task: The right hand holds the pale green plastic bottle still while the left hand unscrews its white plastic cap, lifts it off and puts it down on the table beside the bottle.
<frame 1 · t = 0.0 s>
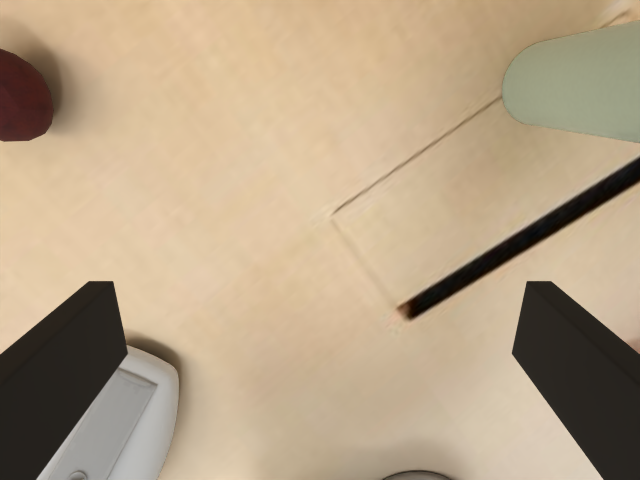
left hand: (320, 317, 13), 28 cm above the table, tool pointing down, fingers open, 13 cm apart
bottle: (541, 84, 36), on the table
dark red ball: (31, 96, 37), on the table
projector: (118, 410, 50), on the table
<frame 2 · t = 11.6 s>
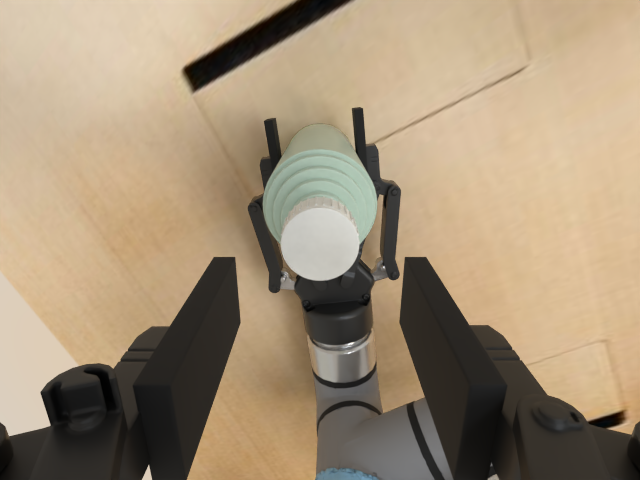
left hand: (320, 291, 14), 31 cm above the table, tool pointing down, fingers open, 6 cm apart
right hand: (313, 114, 36), fingers closed on bottle, 7 cm apart
cap: (320, 243, 19), point 26 cm above the table, screwed on, not yet turned
bottle: (320, 157, 43), on the table, touching right hand
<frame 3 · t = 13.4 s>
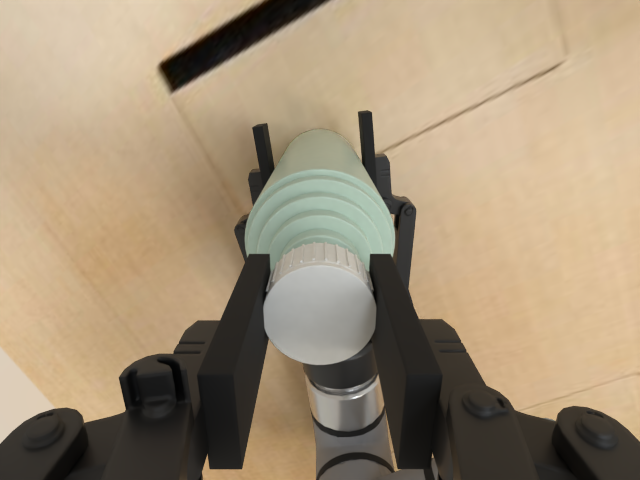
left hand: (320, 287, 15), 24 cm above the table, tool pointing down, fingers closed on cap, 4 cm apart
right hand: (312, 119, 30), fingers closed on bottle, 7 cm apart
cap: (319, 313, 13), point 26 cm above the table, screwed on, not yet turned, touching left hand
bottle: (319, 168, 37), on the table, touching right hand
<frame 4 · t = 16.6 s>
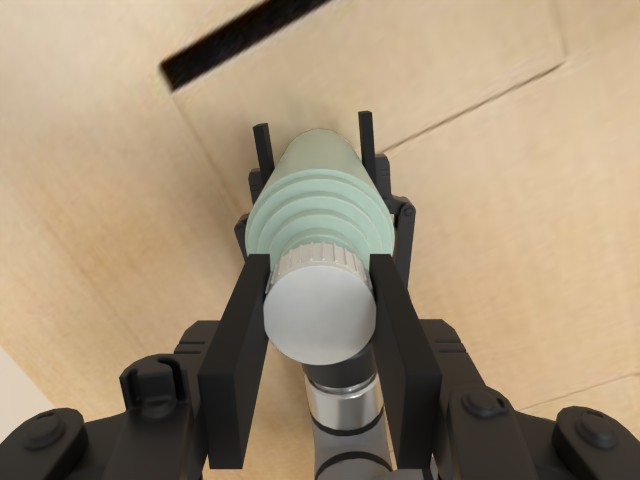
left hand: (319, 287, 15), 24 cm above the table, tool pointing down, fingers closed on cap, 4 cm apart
right hand: (312, 119, 30), fingers closed on bottle, 7 cm apart
cap: (319, 313, 13), point 26 cm above the table, turned 99° so far, risen 0.1 cm, still on its thread, touching left hand
bottle: (319, 168, 37), on the table, touching right hand
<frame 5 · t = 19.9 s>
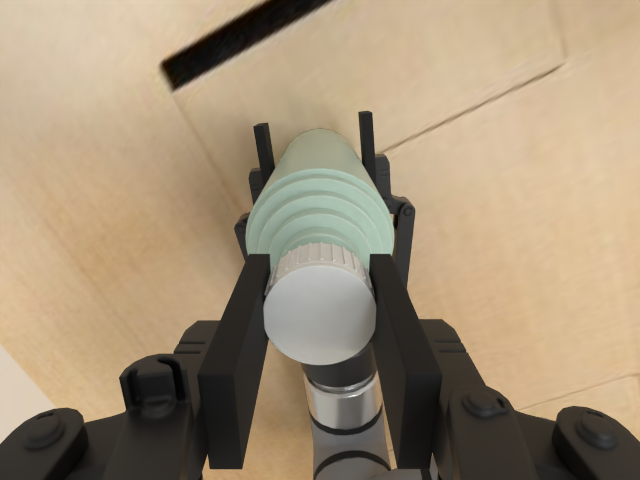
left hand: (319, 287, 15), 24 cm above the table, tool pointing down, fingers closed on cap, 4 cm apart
right hand: (312, 118, 30), fingers closed on bottle, 7 cm apart
cap: (319, 313, 13), point 26 cm above the table, turned 197° so far, risen 0.2 cm, still on its thread, touching left hand
bottle: (319, 168, 37), on the table, touching right hand
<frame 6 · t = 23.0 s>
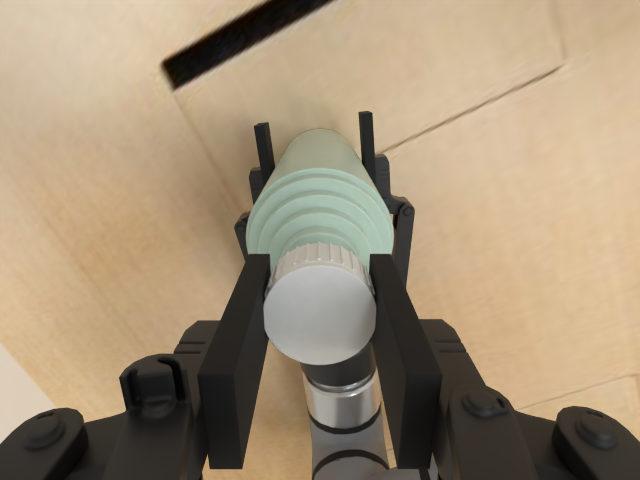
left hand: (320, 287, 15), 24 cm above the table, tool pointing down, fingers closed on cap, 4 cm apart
right hand: (313, 118, 30), fingers closed on bottle, 7 cm apart
cap: (319, 313, 13), point 26 cm above the table, turned 296° so far, risen 0.3 cm, still on its thread, touching left hand
bottle: (319, 168, 37), on the table, touching right hand
when the left hand's fingers open (2 cm above the table, at t = 30.9 s): cap drops 2 cm, point 2 cm above the table.
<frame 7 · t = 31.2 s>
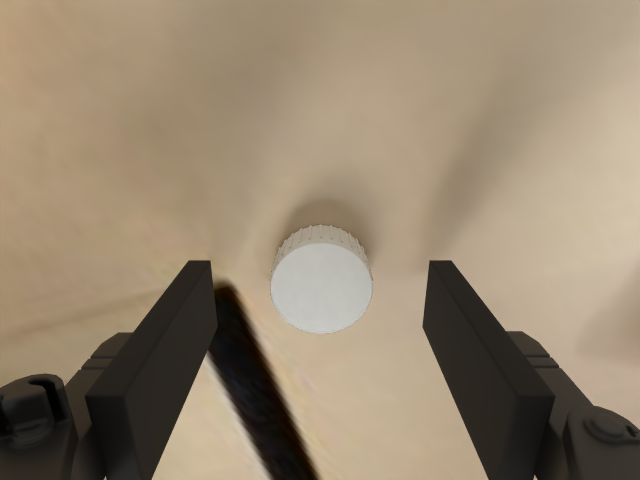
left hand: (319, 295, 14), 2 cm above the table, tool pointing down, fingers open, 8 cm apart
cap: (321, 286, 15), point 2 cm above the table, off its thread
when the right hand's fingers open (6 cm above the table, at t = 32.2 s): bottle stays where it is, on the table.
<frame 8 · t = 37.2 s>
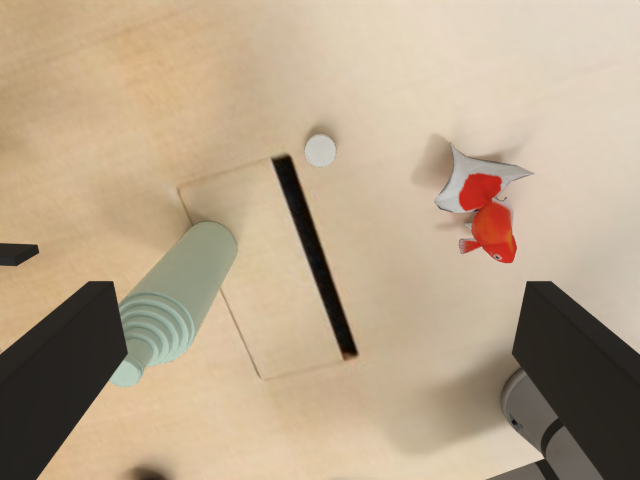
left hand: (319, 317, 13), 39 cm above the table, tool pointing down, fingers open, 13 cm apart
cap: (320, 151, 47), point 2 cm above the table, off its thread
bottle: (210, 246, 53), on the table
fish: (466, 194, 51), on the table
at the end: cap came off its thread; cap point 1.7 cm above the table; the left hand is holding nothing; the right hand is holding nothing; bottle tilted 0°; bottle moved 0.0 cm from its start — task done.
